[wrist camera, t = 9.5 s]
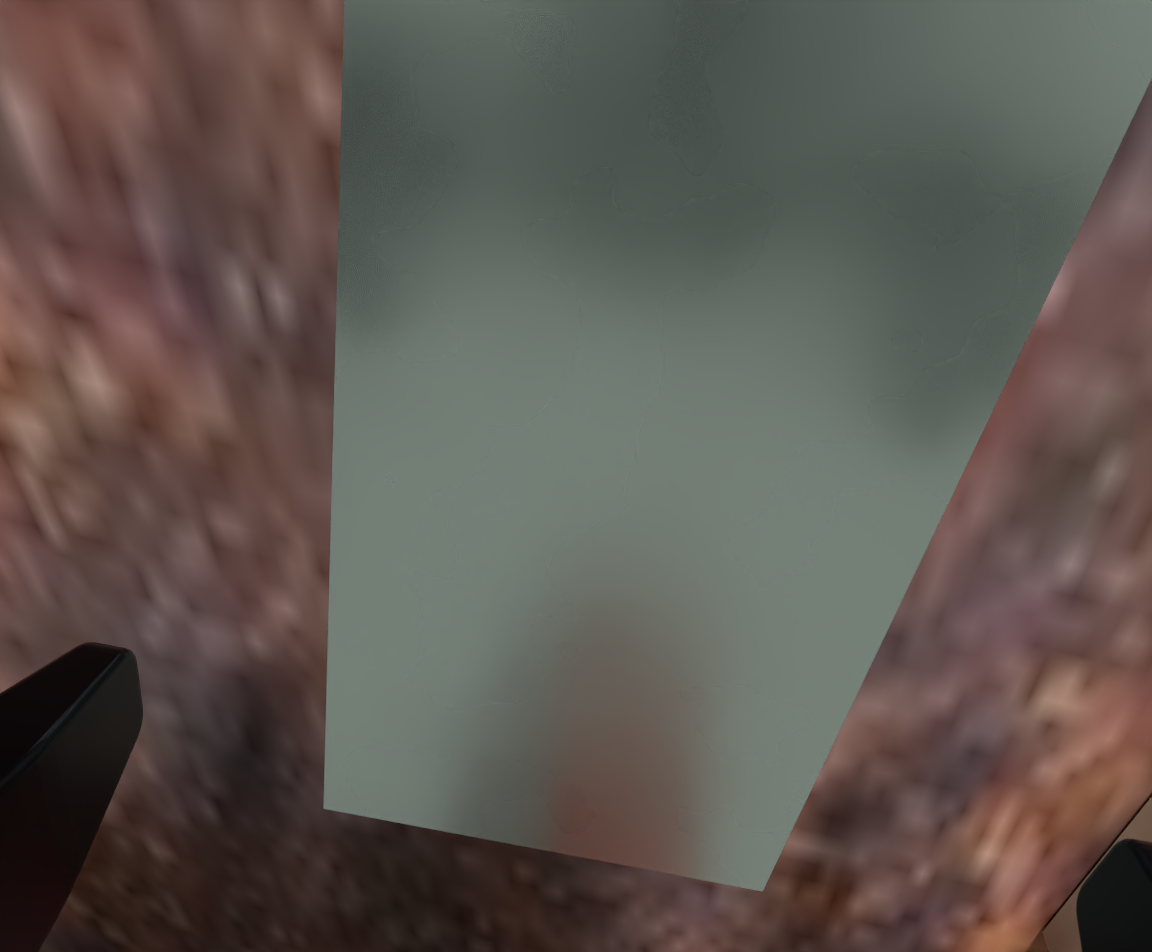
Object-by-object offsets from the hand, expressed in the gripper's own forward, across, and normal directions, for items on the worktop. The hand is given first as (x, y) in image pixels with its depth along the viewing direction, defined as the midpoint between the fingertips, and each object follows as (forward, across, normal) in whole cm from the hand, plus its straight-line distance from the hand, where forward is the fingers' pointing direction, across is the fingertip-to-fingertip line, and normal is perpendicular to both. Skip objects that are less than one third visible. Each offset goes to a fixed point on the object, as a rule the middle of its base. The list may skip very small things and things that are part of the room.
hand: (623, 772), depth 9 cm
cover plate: (+5, 0, 0) cm, 5 cm away
